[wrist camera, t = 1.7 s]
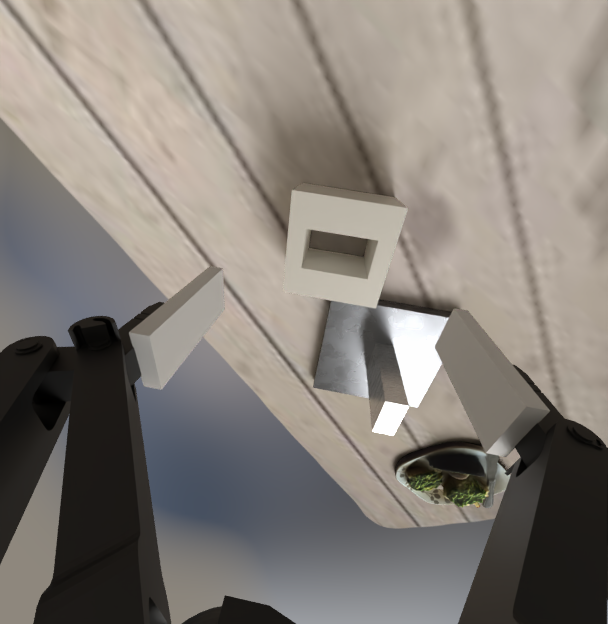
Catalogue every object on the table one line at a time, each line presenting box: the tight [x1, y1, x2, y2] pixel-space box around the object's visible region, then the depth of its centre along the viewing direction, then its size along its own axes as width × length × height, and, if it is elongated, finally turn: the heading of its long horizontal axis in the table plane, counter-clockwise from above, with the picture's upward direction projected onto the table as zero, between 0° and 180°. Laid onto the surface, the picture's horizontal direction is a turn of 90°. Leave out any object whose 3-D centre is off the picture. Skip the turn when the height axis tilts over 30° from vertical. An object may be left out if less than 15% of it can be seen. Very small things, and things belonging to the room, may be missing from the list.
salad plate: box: [395, 442, 510, 508], centre depth 45 cm, size 19×18×5 cm
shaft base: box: [313, 300, 452, 436], centre depth 30 cm, size 15×15×10 cm
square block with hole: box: [283, 183, 408, 308], centre depth 25 cm, size 9×9×6 cm
